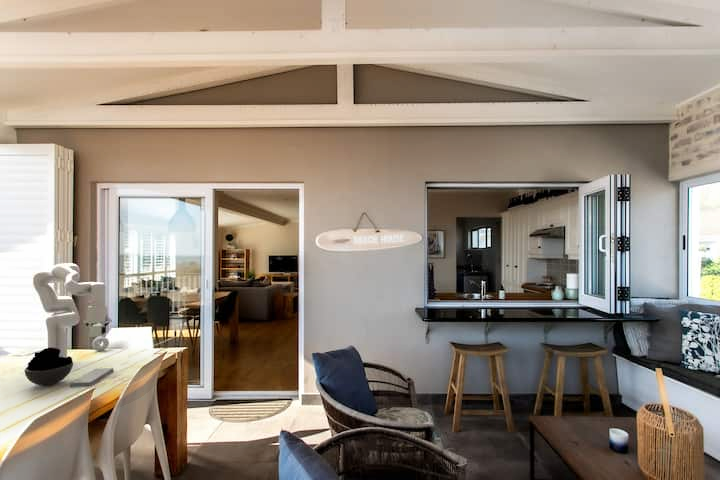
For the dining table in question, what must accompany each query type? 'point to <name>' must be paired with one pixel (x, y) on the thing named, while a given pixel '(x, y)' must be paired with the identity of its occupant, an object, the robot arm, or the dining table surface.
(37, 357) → the coal bowl
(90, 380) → the board
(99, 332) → the block
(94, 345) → the donut
